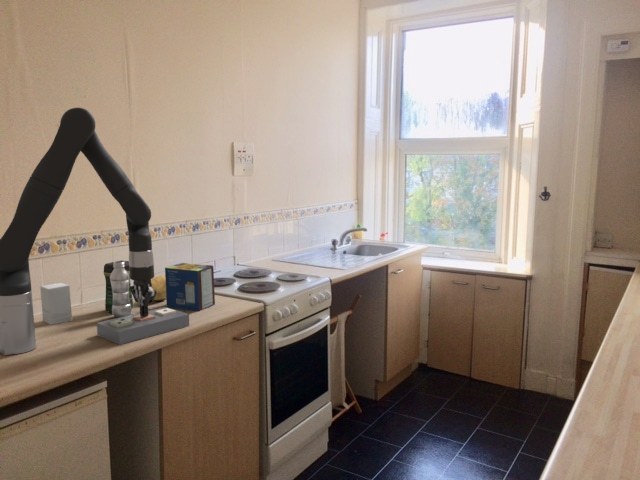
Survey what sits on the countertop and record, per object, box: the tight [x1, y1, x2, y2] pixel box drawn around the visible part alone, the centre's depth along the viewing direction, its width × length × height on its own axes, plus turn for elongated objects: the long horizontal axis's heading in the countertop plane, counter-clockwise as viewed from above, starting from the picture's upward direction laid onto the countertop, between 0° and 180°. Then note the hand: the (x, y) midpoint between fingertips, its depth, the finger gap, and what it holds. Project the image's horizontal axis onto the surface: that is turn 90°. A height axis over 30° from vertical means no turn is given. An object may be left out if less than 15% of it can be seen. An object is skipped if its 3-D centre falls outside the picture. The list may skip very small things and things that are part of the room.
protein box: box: [164, 262, 216, 312], centre depth 201 cm, size 10×15×16 cm
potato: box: [151, 275, 166, 301], centre depth 211 cm, size 10×14×10 cm
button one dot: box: [155, 307, 177, 316], centre depth 178 cm, size 5×5×5 cm
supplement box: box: [39, 282, 73, 326], centre depth 182 cm, size 7×7×13 cm
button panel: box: [96, 306, 190, 346], centre depth 172 cm, size 25×14×4 cm, turn 139°
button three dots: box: [133, 314, 155, 322], centre depth 172 cm, size 5×5×5 cm
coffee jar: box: [103, 259, 134, 314], centre depth 195 cm, size 10×8×19 cm
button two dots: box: [110, 318, 133, 328], centre depth 166 cm, size 5×5×5 cm
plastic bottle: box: [110, 260, 133, 318], centre depth 186 cm, size 6×7×20 cm
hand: (144, 316), depth 172 cm, fingers closed
